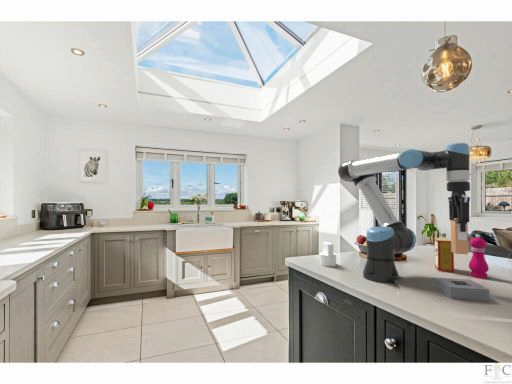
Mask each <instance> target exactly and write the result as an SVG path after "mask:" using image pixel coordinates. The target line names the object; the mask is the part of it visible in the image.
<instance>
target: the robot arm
mask: <svg viewBox="0 0 512 384" xmlns="http://www.w3.org/2000/svg"><path fill="white" fill-rule="evenodd" d="M469 147H470V146H469V144H468V143H465V142H456V143H449V144H447V145H446V147H445V150H440V151H426V150H418V149H414V148H409V149H405V150H403V151H402V152H398V153H397V152H396V153H393V154H386V155H383V156H378V157H371V158H367V159H366V158H365V159H362V160H355V159H352V160H346V161H344V162H342V163H340V165H339V166H338V169H337V174H338V176H339V178H340V179H341V180H342V181H345V182H349V183H353V184H354V186H355V188H356V189H358V190H360V191H361V193H362V194H363V196H364V198H365V200H366V202H367V204H368V206H369V207H370V210H371V211H372V213H373V214H374V217H375V218H376V221H377V222H378V225H379V226H374V227H373V226H371V227H370V228H368V229H367V230H366V236H365V238H366V239H365V240H366V261H365V265H364V268H363V271H362V276H363V278H365V279H366V280H369V281H374V282H379V283H395V281H397V280H399V278H400V275H399V271H398V269H397V266H396V263H395V254H399V253H406V252H409V251H411V250H412V249H414V248H415V247H416V243H417V236H416V234H415V232H414V231H413V230H412V229H410V228H408V227H406V226H405V224H404V222H403V221H401V220H399V219H397V216H396V215H395V213H394V212H393V210H392V208H391V207H390V204H389V203H388V201H387V200H386V198H385V197H384V194H383V193H382V192H381V189H380V188H379V186H378V185H377V174H380V173H387V172H388V173H389V172H394V171H395V172H396V171H402V170H411V169H417V170H418V171H431V170H438V169H446V173H445V175H446V182H447V183H446V191H447V192H451V196H448V198H447V199H448V211H449V212H448V213H449V221H451V220H453V221H454V218H458V222H456V223H457V230H458V240H467V238H466V224H468V223H470V200H471V199H470V198H471V197H470V196H467V194H466V192H469V191H471V183H470V182H469V181H470V179H471V178H470V176H471V175H472V173H470V171H471V170H470V155H471V154H470V148H469Z"/></svg>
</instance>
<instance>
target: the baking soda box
mask: <svg viewBox="0 0 512 384" xmlns="http://www.w3.org/2000/svg"><path fill="white" fill-rule="evenodd" d="M454 254H455V253H453V252H451V238H443V237H440V238H439V237H434V267H435V269H436V270H437V271H439V272H444V273H446V272H448V273H455V260H454V259H455V258H454V257H455V256H454Z"/></svg>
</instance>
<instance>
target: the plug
mask: <svg viewBox="0 0 512 384" xmlns="http://www.w3.org/2000/svg"><path fill="white" fill-rule="evenodd" d="M456 222H458V218H454V221H453V220H450V240H451V252H453V253H454V254H456V255H469V234H468V233H469V230H468V229H469V228H468V226H469V225H468V223H467V224H466V238H467V240H458V230H457V223H456Z"/></svg>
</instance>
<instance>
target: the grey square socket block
mask: <svg viewBox="0 0 512 384" xmlns="http://www.w3.org/2000/svg"><path fill="white" fill-rule="evenodd" d="M435 288H436V290H439V292H441V293H442V294H444V295H445V296H446V297H448V298H449V299H452V300H455V299H456V300H467V301H479V302H490V289H488V288H487V287H485V286H483V285H481V284H479V283H477V282H476V281H474V280H472V279H466V278H465V279H464V278H452V277H451V278H450V277H435Z"/></svg>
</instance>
